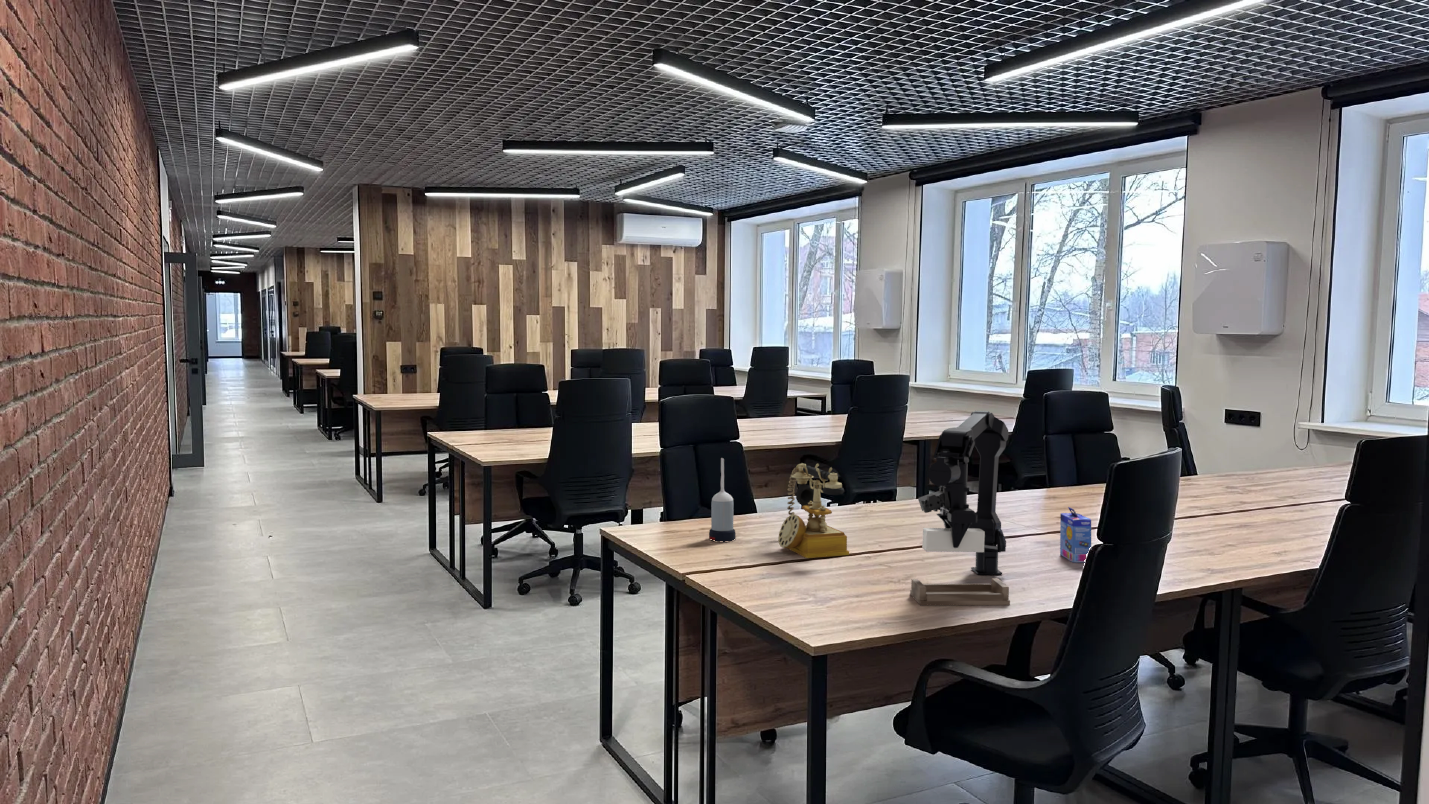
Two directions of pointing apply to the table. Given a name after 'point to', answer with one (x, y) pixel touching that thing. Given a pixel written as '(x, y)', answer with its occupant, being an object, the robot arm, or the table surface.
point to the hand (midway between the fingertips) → (953, 545)
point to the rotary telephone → (816, 533)
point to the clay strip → (943, 540)
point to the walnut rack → (960, 593)
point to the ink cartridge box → (1074, 536)
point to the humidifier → (722, 514)
